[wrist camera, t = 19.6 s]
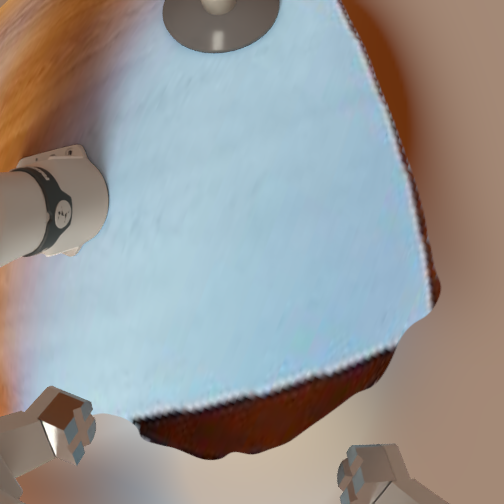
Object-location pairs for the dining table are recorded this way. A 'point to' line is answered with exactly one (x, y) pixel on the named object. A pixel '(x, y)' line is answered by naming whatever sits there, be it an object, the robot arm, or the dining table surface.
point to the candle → (218, 6)
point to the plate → (219, 24)
